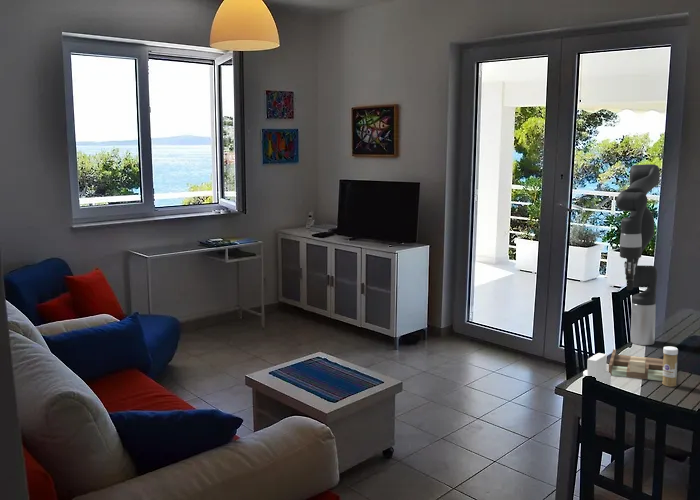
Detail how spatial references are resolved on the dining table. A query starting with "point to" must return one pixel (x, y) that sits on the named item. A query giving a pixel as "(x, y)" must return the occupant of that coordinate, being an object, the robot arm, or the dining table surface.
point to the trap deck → (622, 368)
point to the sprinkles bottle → (670, 366)
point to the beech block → (637, 364)
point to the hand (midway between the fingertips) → (629, 289)
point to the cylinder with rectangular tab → (598, 368)
